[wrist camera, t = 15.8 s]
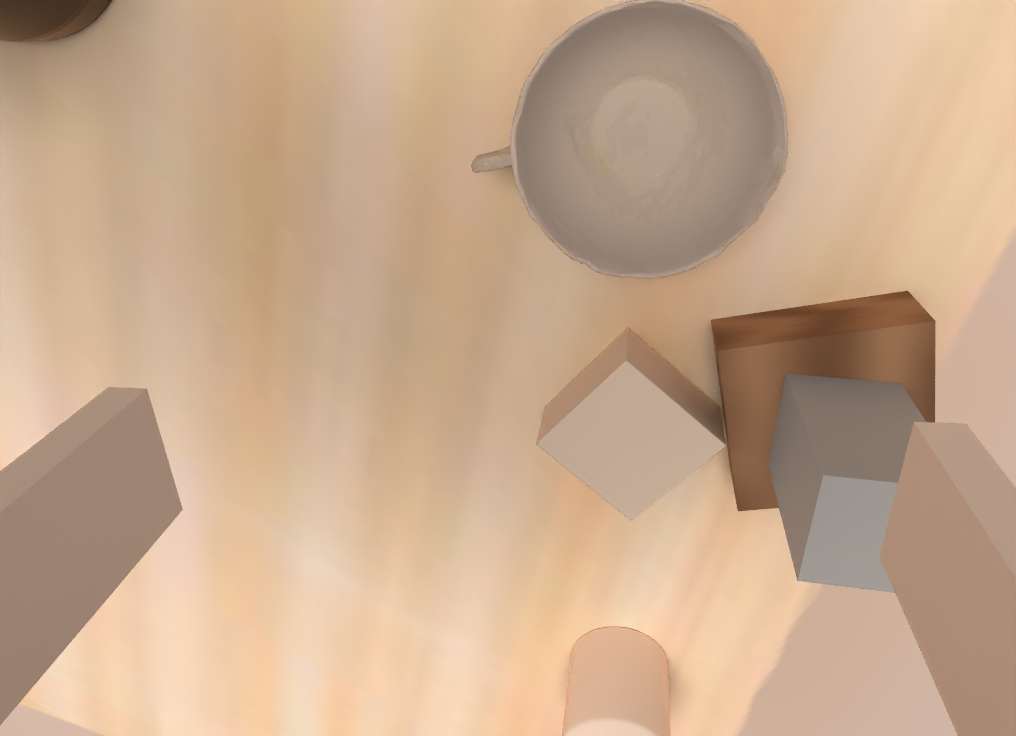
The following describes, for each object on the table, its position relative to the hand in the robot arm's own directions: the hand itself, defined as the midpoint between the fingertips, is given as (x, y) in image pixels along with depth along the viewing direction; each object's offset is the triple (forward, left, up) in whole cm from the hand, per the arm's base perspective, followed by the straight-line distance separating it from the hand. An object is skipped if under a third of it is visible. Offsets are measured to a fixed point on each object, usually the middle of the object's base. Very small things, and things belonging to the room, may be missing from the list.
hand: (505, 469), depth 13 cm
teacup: (+1, +1, -33) cm, 33 cm away
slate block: (+8, -18, -28) cm, 34 cm away
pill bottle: (-12, -38, -33) cm, 52 cm away
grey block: (-4, -16, -33) cm, 37 cm away
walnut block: (+8, -18, -33) cm, 38 cm away
